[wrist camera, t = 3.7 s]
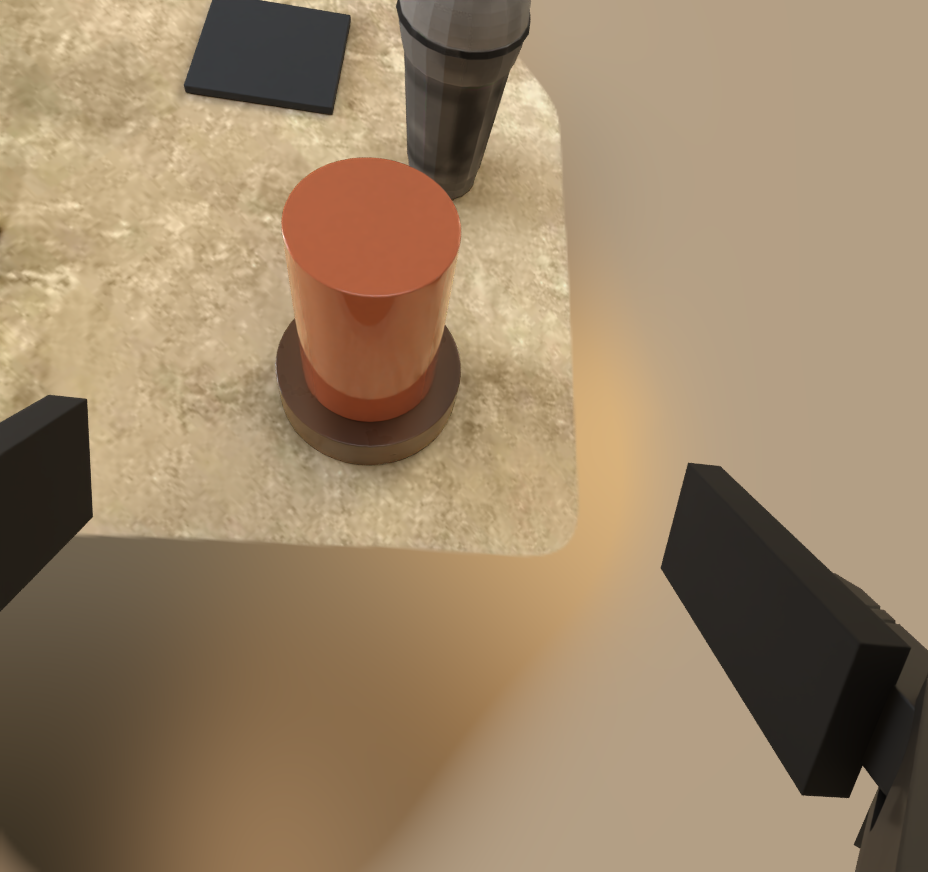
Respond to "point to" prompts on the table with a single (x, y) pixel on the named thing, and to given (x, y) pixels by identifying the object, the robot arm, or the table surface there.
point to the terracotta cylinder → (370, 283)
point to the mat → (270, 55)
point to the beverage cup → (456, 80)
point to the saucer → (358, 437)
